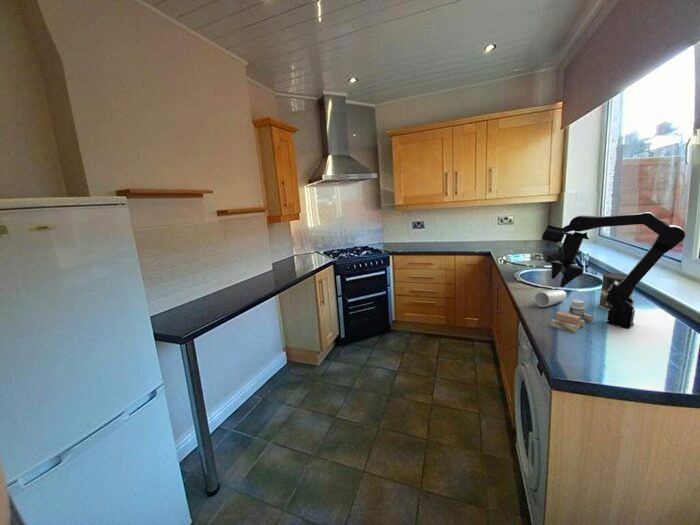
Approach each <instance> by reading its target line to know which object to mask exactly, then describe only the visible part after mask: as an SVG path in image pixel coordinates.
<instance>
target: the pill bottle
mask: <svg viewBox="0 0 700 525" xmlns="http://www.w3.org/2000/svg"><path fill="white" fill-rule="evenodd" d="M585 310H586V307H585V301H584V300H581V299H572V300H571V304H570V305H569V310H568V312H569V314H573V315H577V316H581V320H583V321H585V320H584V313H586V312H585Z"/></svg>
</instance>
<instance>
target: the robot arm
mask: <svg viewBox="0 0 700 525" xmlns="http://www.w3.org/2000/svg"><path fill="white" fill-rule="evenodd" d="M634 225H635V226H636V225H644V227H645V226H646V228H648V229H650V230H651V231H653V232H654V233H655V234H657V236H656V238H655V239H654V241H653V244H652V245H651V247H650V248H649V249H648V250H647V252H646V253H645V254H644V256H642V258H641V259H640V260H639V261H638V262H637V263H636V265H635V266H634V267H633V268H632V269H631V271H630V272H628V273H627V274H626V275H627V276H626V277H625V279H623V280H622V281H621V282H617V281H614V283H613V285H612V286H611V287H609V288H608V290H607V293H608V294H607V301H608V302H609V303H610V304H612V307H611V309H610V310H607V320H606V324H609V325H613V326H617V327H620V328H626V329H630V328H632V327H633V326H634V325H635V322H634V317H635V314H636V313H635V312H636V309H634V308H635V301H634V300H633V298H632V299H631V298H630V295H631V293H632V291H633V292H634V289H635V287H636V286H637V285H638V284H639V282H640V281H642V279H643V278H644V277H645V276H646V275H647V273H648V272H650V271H651V269H652V268H653V267H654V266H655V264H656V263H657V262H658V261H659V260H660V259H661V258H662V256H664V255H665V254H666V253H668V252H669V251H670V250H672V249H674V248H675V247H676V246H677V245H678V244H680V243H681V242H683V241H684V240H685V238H686V232H685V230H684V229H683V228H682V227H681V226H679V225H676V224H669V223H667V222H666V221H664V220H663V219H661V218H659V217H657V216H656V215H654V214H653V213H652V212H649V211H646V212H641V213H631V214H630V213H629V214H619V215H618V214H617V215H607V216H597V215H596V216H595V215H577V216H575V217H573V218H572V219H571V220H570V222H569V224H567V225H565V226H564V227H560V226H558V225H557V226H556V225H553V224H551V223H549V224H548V225H547V226H546V228H545V231H544V232H543V234H542V235H541V240H542V241H545V242H548V243H552V244H556V245H557V244H559V243H562V242H563V243H562V245H561V246H558V248H557V250H556V249H555V250H548V251H542V260H543V261H544V262H545V263H549V264H550V265H551V268H550V269H551V271H550V273H551V275H550V278H551V279H553V280H554V279H555V278H556V277H557V276H558V275H559V274H560V273H561V280H560V283H559V287H560V288H564V287H565V286H567V285H568V284H569V283H570V282H571V281H573V280H575V279H576V278H578V277H580V276H581V277H582V276H583V274H584V269H583V268H582V267H581V266H580V265H577V261H576V258H577V256H580V255H581V252H580V251H579V250H580V248H581V246H582V243H583V240H590V239H591V236H590V235H589V233H588V231H589V230H593V229H597V228H605V227H606V228H607V227H621V226H623V227H624V226H634ZM584 231H585V232H584ZM583 232H584V233H583Z"/></svg>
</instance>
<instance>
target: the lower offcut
mask: <svg viewBox="0 0 700 525" xmlns="http://www.w3.org/2000/svg"><path fill="white" fill-rule="evenodd" d="M557 321H559V320H557ZM561 322H563V321H561ZM564 323H567V322H564ZM568 324H571V323H568ZM572 325H575V324H572ZM575 326H577V328H576V330H577V331H579V330H580V329H579V328H581V327H580V323H579V324H578V325H575Z"/></svg>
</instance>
